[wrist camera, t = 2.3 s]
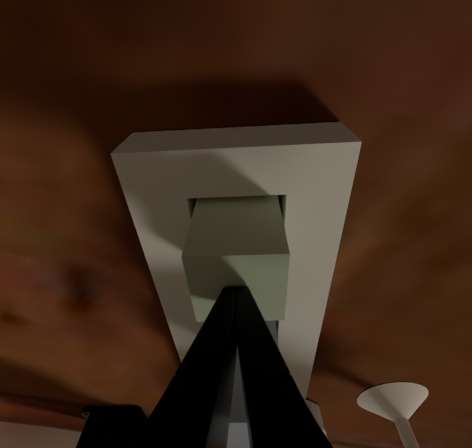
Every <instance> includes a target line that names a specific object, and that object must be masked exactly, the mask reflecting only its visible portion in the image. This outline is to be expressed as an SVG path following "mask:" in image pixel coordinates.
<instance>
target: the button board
mask: <svg viewBox="0 0 472 448" xmlns="http://www.w3.org/2000/svg"><path fill="white" fill-rule="evenodd" d="M361 143H362V141H361V140H360V139H358V138H357V137H356V136H355V135H354V134H353V133H352V132H351V131H350V130H349V129H348V128H347V127H346V126H344V125H343V124H342V123H341V122H329V123H309V124H290V125H271V126H251V127H232V128H213V129H193V130H174V131H154V132H135V133H132V134H131V135H130V136H129V137H128V138H127V139H125V140H124V141H123V142H122V143H121V144H120V145H119V146H118V147H117V148H116V149H115V150H114V151H113V152H112V153H110V154H111V157H112V160H113V163H114V166H115V169H116V172H117V175H118V178H119V181H120V184H121V187H122V190H123V193H124V195H125V198H126V201H127V204H128V207H129V210H130V213H131V216H132V219H133V222H134V225H135V228H136V231H137V234H138V237H139V240H140V243H141V246H142V248H143V251H144V254H145V257H146V260H147V263H148V266H149V269H150V272H151V275H152V278H153V281H154V284H155V287H156V290H157V293H158V296H159V299H160V301H161V304H162V307H163V310H164V313H165V316H166V319H167V322H168V325H169V328H170V331H171V334H172V337H173V340H174V343H175V346H176V349H177V352H178V354H179V357H180V360H181V362H182V360H183V359H184V357H185V355H186V353H187V351H188V350H189V348H190V346H191V344H192V343H193V341H194V339H195V337H196V335H197V334H198V332H199V330H200V328H201V326H202V325H203V323H204V322H196V318H195V314H194V309H193V305H192V301H191V297H190V292H189V288H188V284H187V280H186V275H185V271H184V267H183V263H182V258H181V256H182V252H183V248H184V245H185V241H186V237H187V234H188V230H189V226H190V222H191V219H192V215H193V211H194V208H195V204H196V200H197V198H212V197H237V196H262V195H278V200H279V205H280V209H281V214H282V219H283V223H284V228H285V233H286V238H287V242H288V247H289V252H290V260H289V272H288V285H287V297H286V309H285V320H275V322H276V330H277V339H278V348H279V350H280V352H281V354H282V357H283V359H284V361H285V363H286V365H287V367H288V369H289V371H290V375H292V377H293V379H294V381H295V383H296V385H297V387H298V389H299V391H300V393H301V395H302V396H303V398H304V400H306V395H307V391H308V386H309V381H310V377H311V372H312V368H313V363H314V358H315V354H316V349H317V345H318V340H319V336H320V331H321V326H322V322H323V317H324V313H325V308H326V303H327V299H328V294H329V290H330V285H331V280H332V276H333V271H334V267H335V262H336V258H337V253H338V248H339V244H340V239H341V235H342V230H343V225H344V221H345V216H346V212H347V207H348V203H349V198H350V193H351V189H352V184H353V180H354V175H355V170H356V166H357V161H358V157H359V152H360V148H361Z"/></svg>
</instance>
